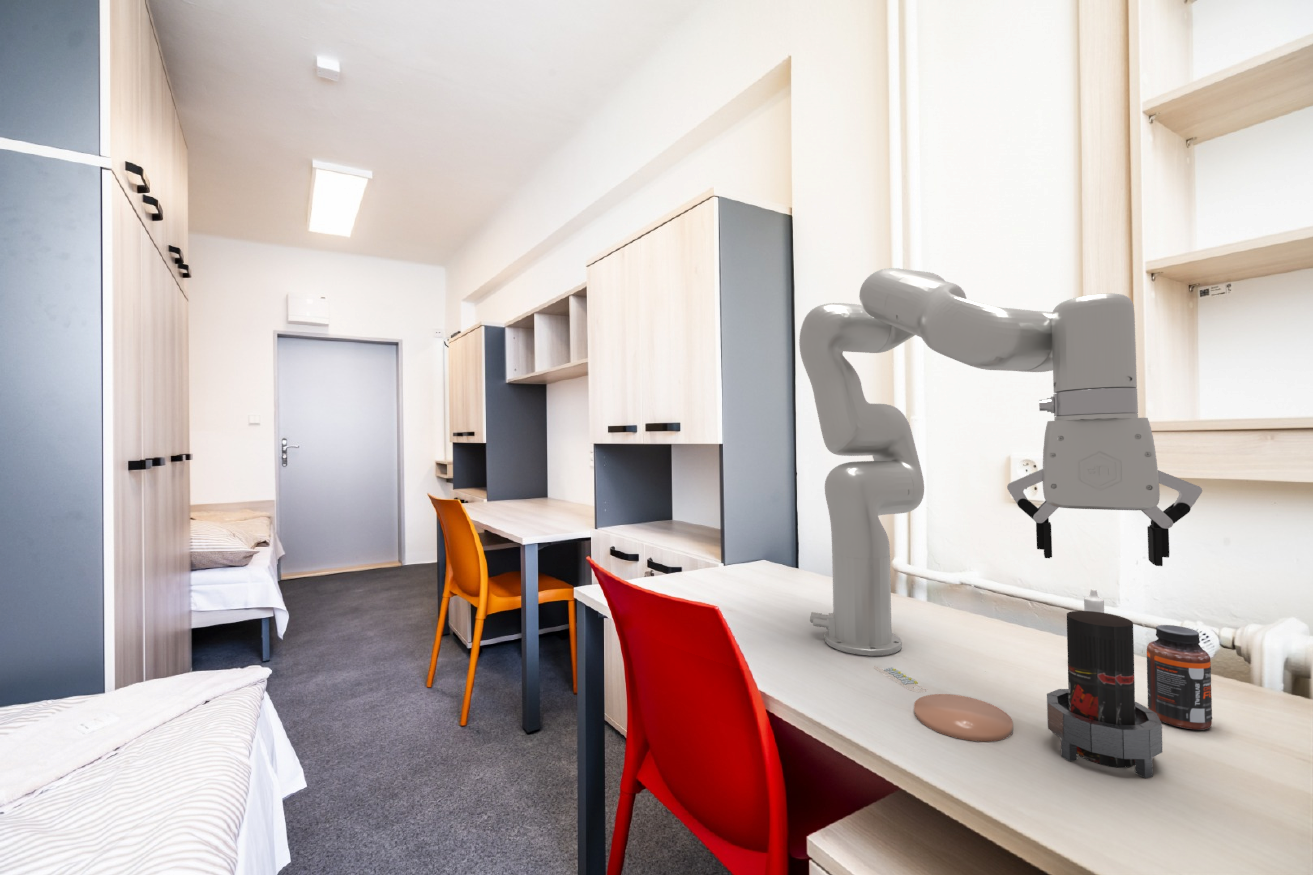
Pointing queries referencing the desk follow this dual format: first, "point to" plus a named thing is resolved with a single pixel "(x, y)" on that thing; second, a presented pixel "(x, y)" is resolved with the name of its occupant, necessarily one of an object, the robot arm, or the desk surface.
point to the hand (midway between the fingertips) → (1099, 559)
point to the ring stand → (1106, 734)
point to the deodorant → (1101, 673)
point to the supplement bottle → (1179, 678)
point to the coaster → (963, 717)
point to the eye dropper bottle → (1093, 602)
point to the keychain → (901, 679)
